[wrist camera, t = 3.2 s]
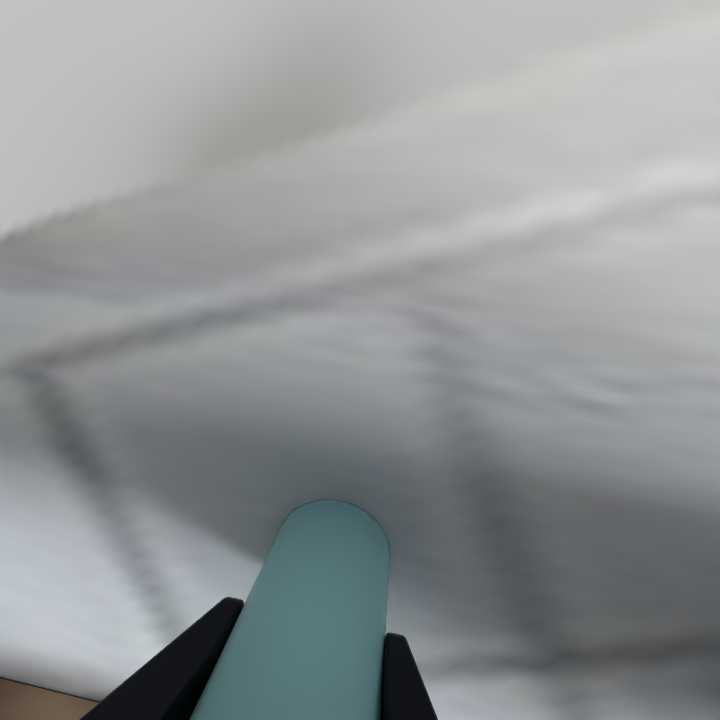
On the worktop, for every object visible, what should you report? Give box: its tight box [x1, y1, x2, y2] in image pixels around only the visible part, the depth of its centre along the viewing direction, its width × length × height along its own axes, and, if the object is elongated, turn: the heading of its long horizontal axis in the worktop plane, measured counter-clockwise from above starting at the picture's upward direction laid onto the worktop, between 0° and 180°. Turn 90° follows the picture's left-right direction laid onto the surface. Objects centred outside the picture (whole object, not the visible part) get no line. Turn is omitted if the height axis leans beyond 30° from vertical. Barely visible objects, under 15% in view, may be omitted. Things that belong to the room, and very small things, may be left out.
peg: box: [189, 500, 390, 720], centre depth 7 cm, size 3×3×8 cm
